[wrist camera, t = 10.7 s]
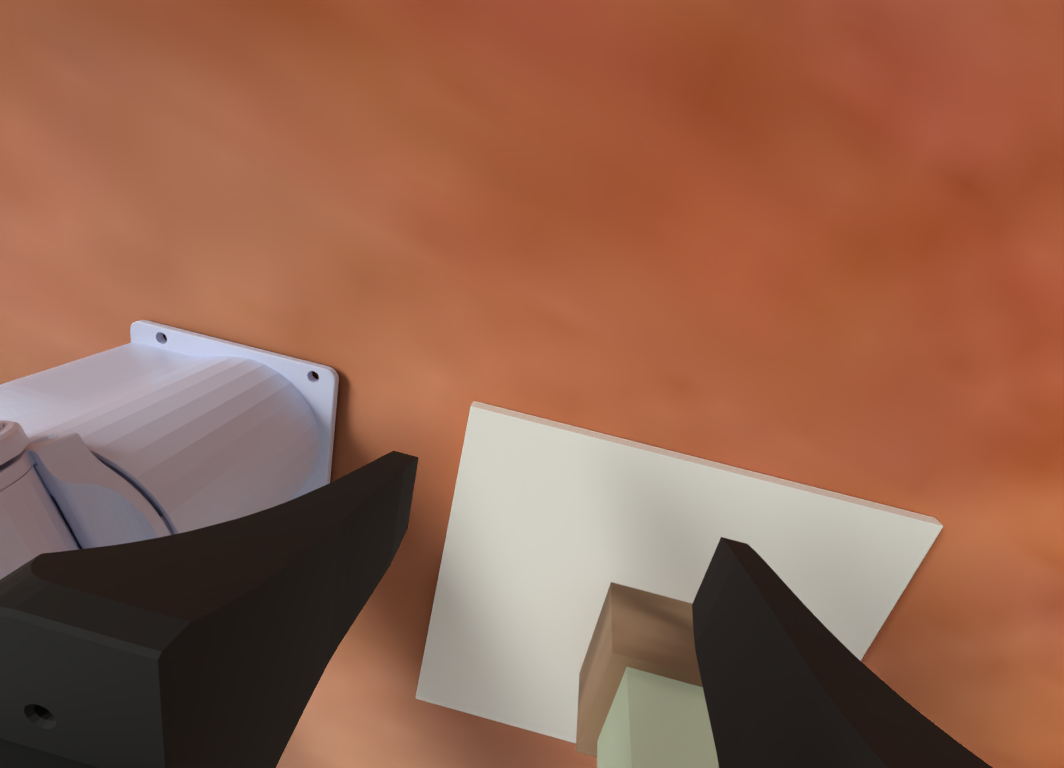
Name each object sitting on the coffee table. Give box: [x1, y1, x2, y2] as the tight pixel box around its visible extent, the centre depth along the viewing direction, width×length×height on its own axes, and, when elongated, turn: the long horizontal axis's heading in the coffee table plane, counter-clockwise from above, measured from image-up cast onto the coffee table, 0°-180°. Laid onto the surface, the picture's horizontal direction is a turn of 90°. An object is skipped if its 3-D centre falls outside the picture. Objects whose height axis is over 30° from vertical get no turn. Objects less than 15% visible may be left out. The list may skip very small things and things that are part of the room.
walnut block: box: [576, 582, 703, 757], centre depth 23 cm, size 6×6×4 cm
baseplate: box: [415, 401, 943, 743], centre depth 25 cm, size 20×18×1 cm
